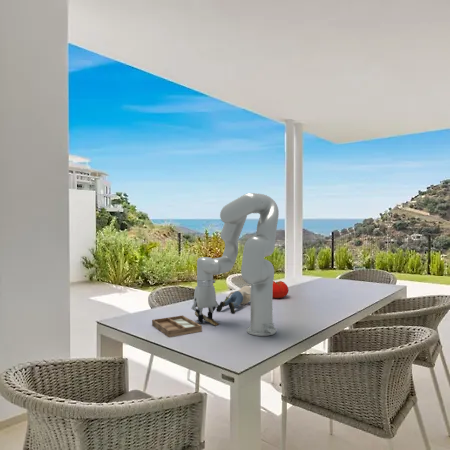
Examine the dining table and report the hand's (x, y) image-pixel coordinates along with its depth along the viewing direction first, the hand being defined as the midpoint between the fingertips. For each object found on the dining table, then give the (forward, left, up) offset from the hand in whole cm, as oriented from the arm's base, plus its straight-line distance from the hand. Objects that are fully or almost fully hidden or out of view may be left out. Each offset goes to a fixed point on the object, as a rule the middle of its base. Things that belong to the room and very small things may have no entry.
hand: (205, 321), depth 179 cm
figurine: (0, 0, -1) cm, 1 cm away
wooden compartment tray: (-1, +16, -1) cm, 16 cm away
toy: (+19, -30, -1) cm, 35 cm away
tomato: (+28, -65, -1) cm, 71 cm away
